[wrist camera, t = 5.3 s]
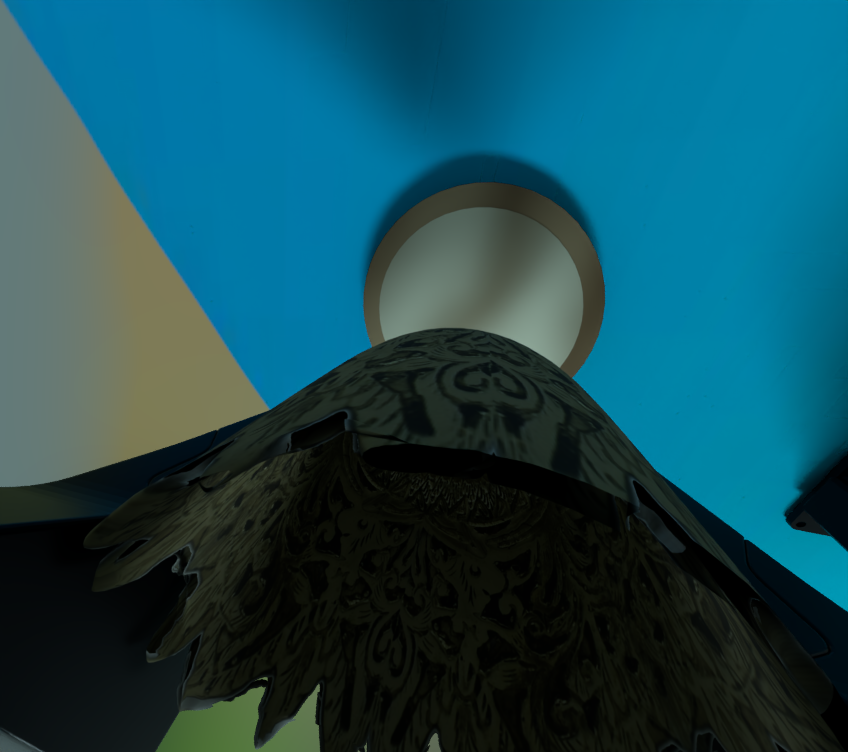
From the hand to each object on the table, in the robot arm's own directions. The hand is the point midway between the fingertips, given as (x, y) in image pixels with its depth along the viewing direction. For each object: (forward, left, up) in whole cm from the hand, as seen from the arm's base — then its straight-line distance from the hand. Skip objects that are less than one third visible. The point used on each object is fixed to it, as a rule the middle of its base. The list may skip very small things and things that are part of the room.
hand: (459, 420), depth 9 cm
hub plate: (0, 0, -11) cm, 11 cm away
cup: (0, 0, -2) cm, 2 cm away
